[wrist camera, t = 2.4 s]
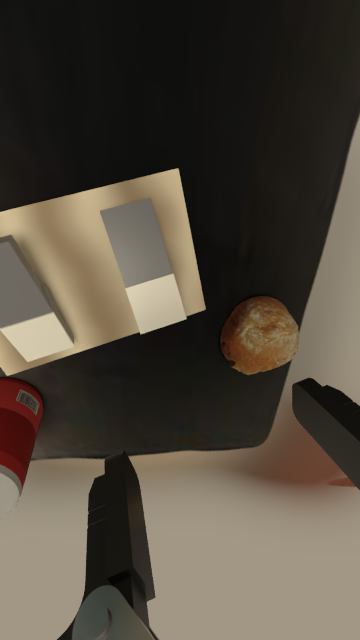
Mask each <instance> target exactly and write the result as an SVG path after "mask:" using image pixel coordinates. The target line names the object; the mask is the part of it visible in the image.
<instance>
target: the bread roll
mask: <svg viewBox="0 0 360 640" xmlns="http://www.w3.org/2000/svg"><path fill="white" fill-rule="evenodd" d="M220 340H221V350H222V352H223V354H224V356H225V358H226V359H227V360H228V361H229V366H231V367H232V368H235V369H237V370H238V371H239V372H240V371H241V372H242V373H244V374H247V375H250V374H254V373H257V372H259V371H262V372H263V371H266V370H271V369H273V368H276V367H279V366H281V365H283V364H285V363H287V362H288V361H290V360H291V359H292V358H293V357H294V355H295V354H296V351H297V349H298V341H299V332H298V326H297V324H296V323H295V320H294V319H293V318H292V316H291V315H290V313H289V312H288V310H287V309H286V307H285V306H284V305H283V304H282V303H281V302H280V301H278V300H276V299H274V298H271V297H268V296H257V297H253V298H250V299H248V300H246V301H244V302H242V303H240V304H239V305H238V306H236V307H235V309H234V310H233V312H232V313H231V314H230V317H229V318H228V319H227V321H226V323H225V325H224V326H223V328H222V331H221V337H220Z"/></svg>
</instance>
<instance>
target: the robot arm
mask: <svg viewBox="0 0 360 640" xmlns="http://www.w3.org/2000/svg"><path fill="white" fill-rule="evenodd" d="M292 400H293V401H292V407H293V412H294V414H295V417H296V418H297V420H298V421H299V423H300V424H301V425H302V426H303V427H304V428H305V429H306V430H307V432H308V433H309V434H310V435H311V436H312V437H313V438H314V439H315V441H316V442H317V443H318V444H319V445H320V446H321V447H322V448H323V450H324V451H325V452H326V453H327V454H328V455H329V456H330V457H331V458H332V460H333V461H334V462H335V463H336V464H337V465H338V466H339V467H340V469H341V470H342V471H343V472H344V473H345V474H346V475H347V476H348V478H349V479H350V480H351V481H352V482H353V483H354V484H355V485H356V487H357V488H358V489H359V490H360V406H359V405H357V404H356V403H355V402H353V401H352V400H351V399H350V398H349V397H348V396H346V395H345V394H344V393H342V392H341V391H339V390H337V389H335V388H333V387H330V386H328V385H326V386H323V387H322V386H321V385H320V384H319V383H317V382H316V381H315V380H314V379H312V378H307V379H304V380H302V381H299V382H297V383H294V384H293V386H292ZM88 512H89V514H88V529H87V554H86V581H85V592H84V596H83V600H82V603H81V606H80V608H79V611H78V612H77V615H76V616H75V618H74V620H73V622H72V623H71V625H70V626H69V627H68V629H67V630H66V631H65V632H64V633H63V634H62V635H61V636H60V637H59V638H58V639H57V640H159V638H158V637H157V636H156V634H155V633H154V632H153V630H152V629H151V627H150V626H149V619H148V610H147V601H149V600H151V599H153V598H155V591H154V584H153V577H152V569H151V562H150V555H149V548H148V541H147V534H146V526H145V520H144V512H143V505H142V497H141V490H140V485H139V480H138V477H137V474H136V472H135V469H134V467H133V465H132V463H131V461H130V459H129V457H128V455H127V453H126V452H125V450H123V451H121V452H118V453H116V454H113V455H111V456H108V457H106V458H105V474H104V475H102V476H99V477H97V478H95V479H94V482H93V484H92V487H91V490H90V492H89V501H88Z"/></svg>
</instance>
